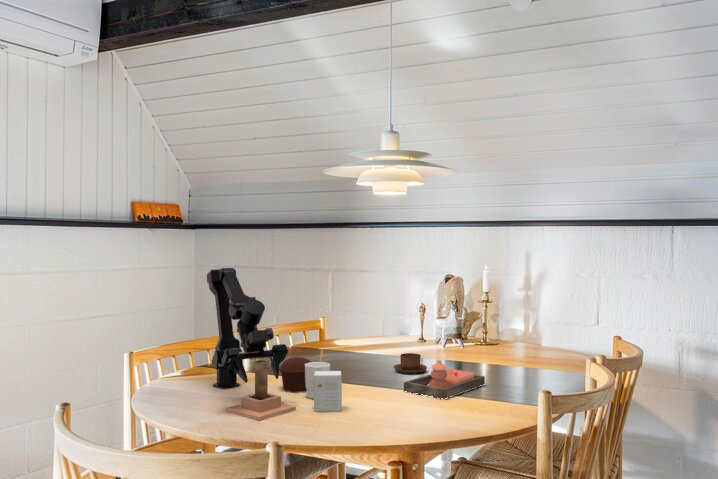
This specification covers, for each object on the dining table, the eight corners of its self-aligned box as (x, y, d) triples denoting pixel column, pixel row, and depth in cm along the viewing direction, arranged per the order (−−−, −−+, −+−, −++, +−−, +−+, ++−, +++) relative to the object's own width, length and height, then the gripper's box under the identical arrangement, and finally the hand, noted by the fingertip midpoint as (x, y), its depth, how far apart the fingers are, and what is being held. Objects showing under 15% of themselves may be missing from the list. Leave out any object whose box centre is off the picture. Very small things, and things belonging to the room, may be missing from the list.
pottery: (451, 381, 228) (451, 352, 228) (475, 385, 222) (475, 356, 222) (420, 390, 214) (420, 360, 214) (445, 395, 208) (445, 364, 208)
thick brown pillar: (252, 408, 188) (252, 362, 188) (257, 404, 192) (258, 360, 192) (264, 409, 187) (264, 363, 187) (269, 405, 191) (269, 361, 191)
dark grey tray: (403, 391, 212) (403, 382, 212) (445, 378, 231) (445, 369, 231) (444, 399, 202) (444, 390, 202) (484, 385, 221) (484, 376, 221)
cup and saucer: (388, 370, 245) (388, 353, 245) (416, 367, 250) (416, 351, 250) (403, 376, 234) (403, 359, 234) (433, 373, 239) (433, 356, 239)
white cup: (316, 392, 211) (316, 360, 211) (335, 396, 206) (335, 364, 206) (299, 396, 205) (299, 364, 205) (318, 401, 200) (318, 368, 200)
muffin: (281, 393, 209) (281, 362, 209) (276, 385, 220) (276, 355, 219) (318, 391, 212) (318, 360, 212) (311, 383, 223) (311, 353, 223)
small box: (341, 406, 195) (341, 370, 195) (341, 411, 189) (341, 374, 189) (314, 406, 195) (314, 370, 194) (313, 411, 189) (313, 374, 189)
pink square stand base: (226, 411, 189) (226, 397, 189) (263, 401, 200) (263, 388, 199) (258, 420, 180) (258, 406, 180) (295, 410, 190) (295, 396, 190)
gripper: (224, 320, 189) (236, 367, 179) (285, 316, 197) (300, 360, 188) (216, 344, 196) (228, 389, 186) (276, 339, 205) (289, 382, 195)
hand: (262, 379), depth 189 cm, fingers open, 9 cm apart
